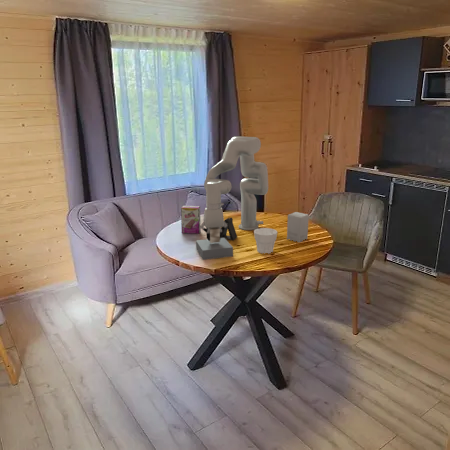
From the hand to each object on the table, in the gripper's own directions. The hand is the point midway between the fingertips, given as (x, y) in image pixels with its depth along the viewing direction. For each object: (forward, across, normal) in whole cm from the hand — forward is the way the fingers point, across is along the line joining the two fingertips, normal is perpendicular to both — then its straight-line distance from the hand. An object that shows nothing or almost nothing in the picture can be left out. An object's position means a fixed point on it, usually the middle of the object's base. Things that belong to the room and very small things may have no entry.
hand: (213, 239), depth 215 cm
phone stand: (+8, -14, -21) cm, 26 cm away
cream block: (+1, 0, 0) cm, 1 cm away
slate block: (+8, 0, 0) cm, 8 cm away
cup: (+8, -27, +5) cm, 29 cm away
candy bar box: (+8, +5, -37) cm, 38 cm away
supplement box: (+8, -52, -8) cm, 53 cm away
